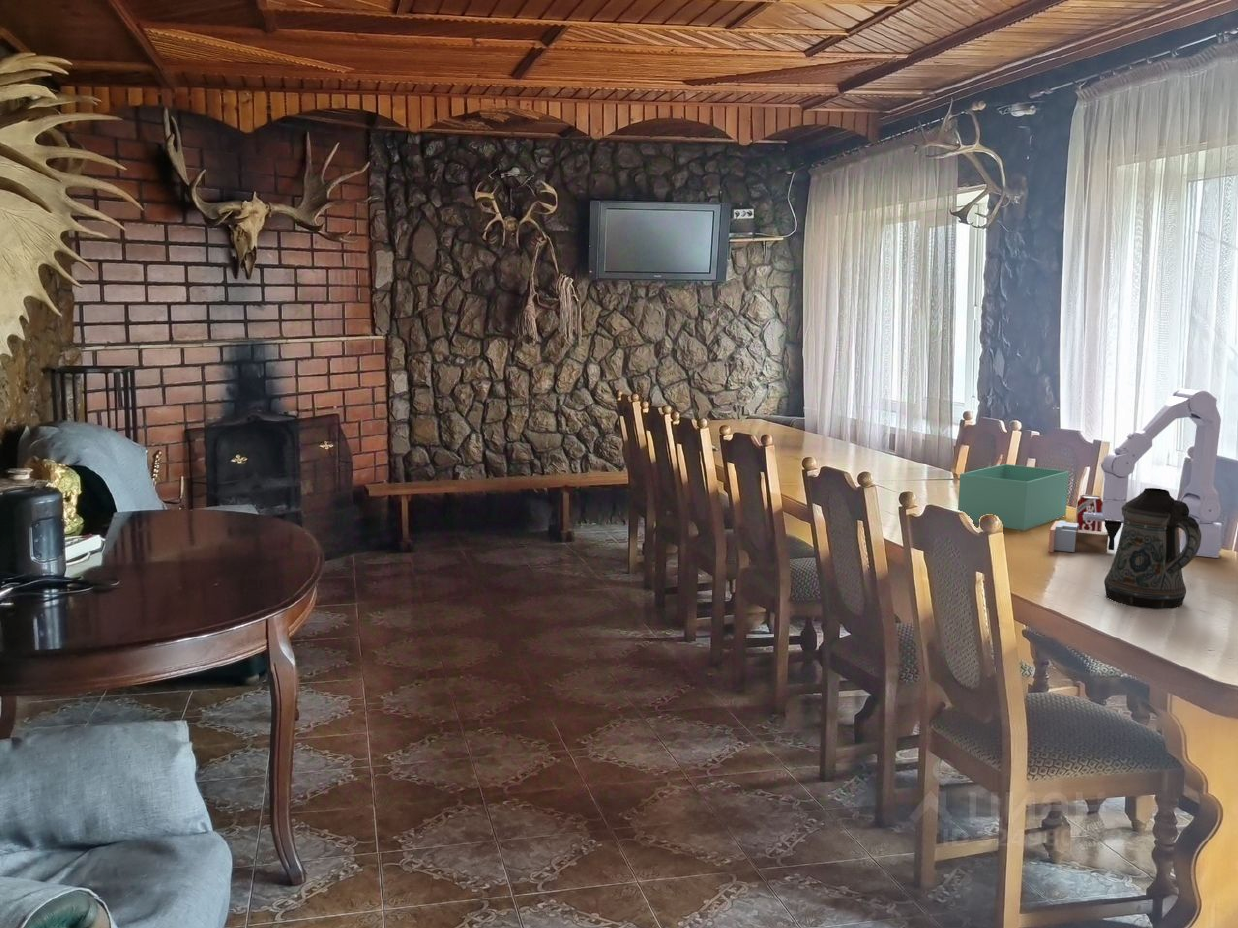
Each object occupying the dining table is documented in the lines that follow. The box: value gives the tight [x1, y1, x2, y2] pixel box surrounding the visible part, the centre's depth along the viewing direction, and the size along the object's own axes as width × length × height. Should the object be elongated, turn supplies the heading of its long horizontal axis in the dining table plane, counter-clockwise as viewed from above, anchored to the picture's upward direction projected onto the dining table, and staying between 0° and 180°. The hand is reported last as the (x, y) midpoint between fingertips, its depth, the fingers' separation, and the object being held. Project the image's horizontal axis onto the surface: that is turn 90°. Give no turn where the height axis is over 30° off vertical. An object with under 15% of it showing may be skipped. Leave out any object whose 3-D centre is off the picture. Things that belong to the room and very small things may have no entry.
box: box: [957, 463, 1070, 531], centre depth 334 cm, size 21×32×14 cm, turn 137°
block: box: [1054, 519, 1079, 553], centre depth 292 cm, size 5×10×6 cm, turn 152°
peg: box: [1075, 530, 1109, 555], centre depth 291 cm, size 11×4×5 cm, turn 66°
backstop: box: [1047, 520, 1060, 553], centre depth 294 cm, size 1×14×6 cm, turn 153°
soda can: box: [1075, 494, 1103, 532], centre depth 306 cm, size 7×7×12 cm
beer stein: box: [1103, 487, 1201, 610], centre depth 239 cm, size 16×19×25 cm
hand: (1110, 549), depth 288 cm, fingers closed
